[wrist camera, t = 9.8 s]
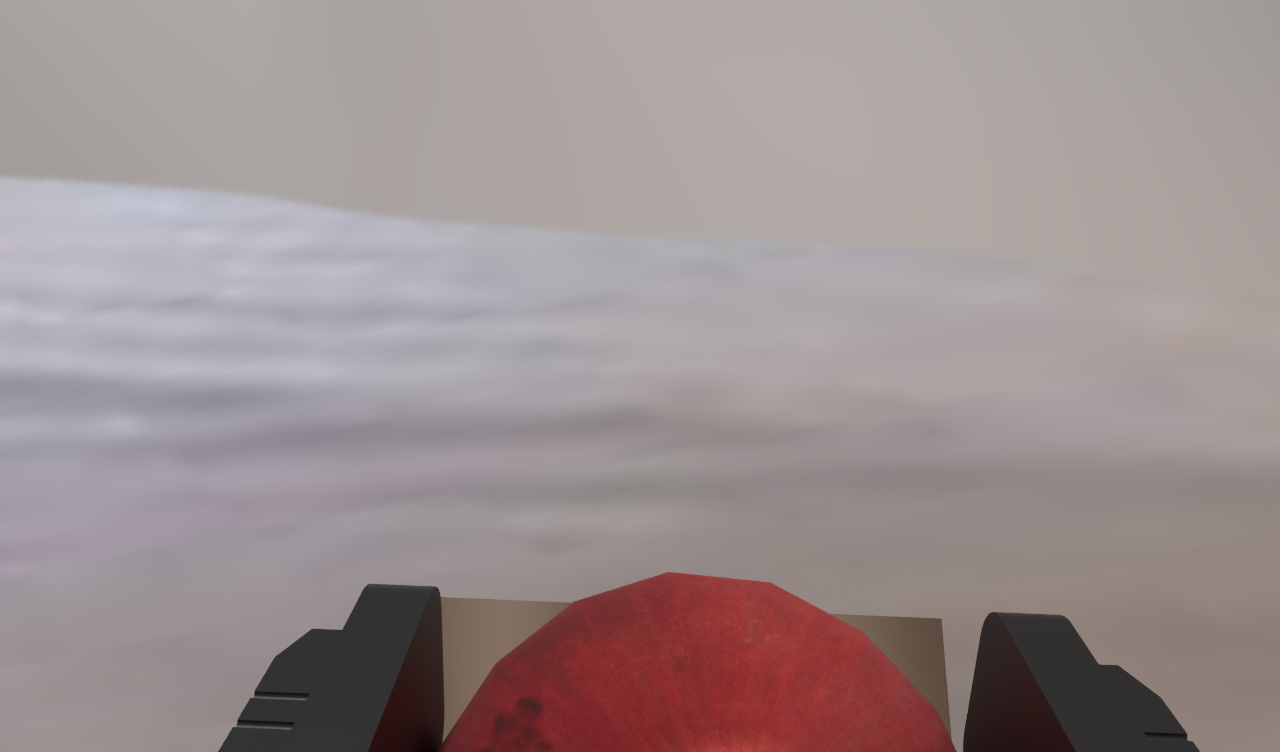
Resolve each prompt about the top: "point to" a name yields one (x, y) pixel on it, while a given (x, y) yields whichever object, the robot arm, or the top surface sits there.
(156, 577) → the top surface
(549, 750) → the pomegranate
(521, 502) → the top surface
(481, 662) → the plinth
